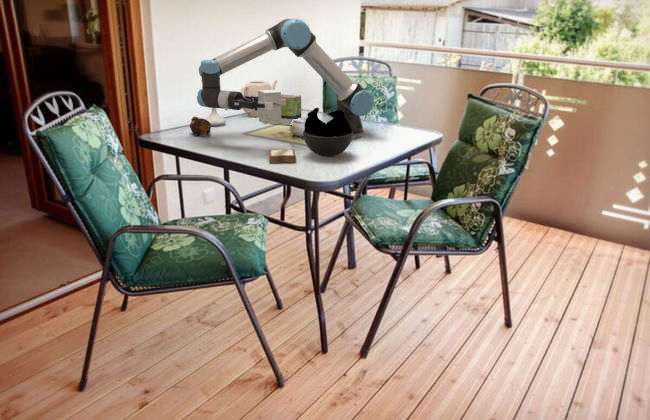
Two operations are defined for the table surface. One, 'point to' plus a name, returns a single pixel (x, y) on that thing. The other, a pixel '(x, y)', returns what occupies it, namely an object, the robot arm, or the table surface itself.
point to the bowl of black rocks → (327, 133)
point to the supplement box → (274, 98)
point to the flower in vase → (215, 118)
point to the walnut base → (282, 156)
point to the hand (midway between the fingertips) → (279, 104)
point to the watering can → (255, 93)
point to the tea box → (290, 109)
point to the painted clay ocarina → (200, 126)
